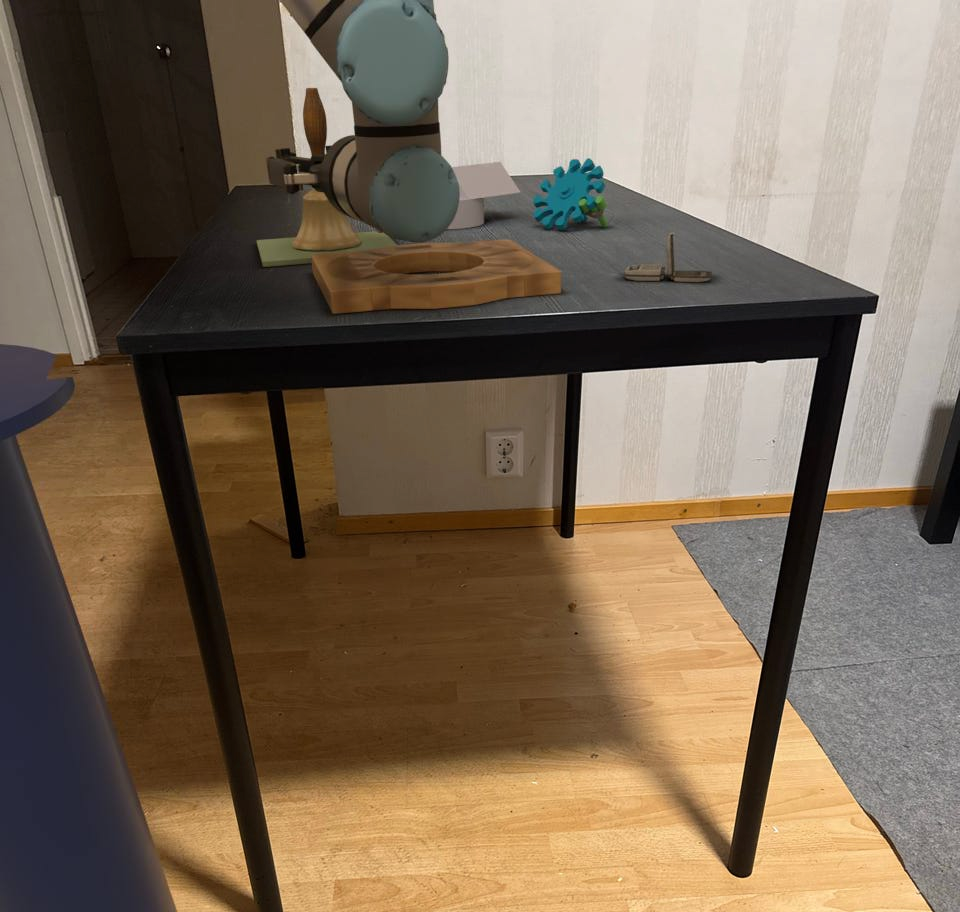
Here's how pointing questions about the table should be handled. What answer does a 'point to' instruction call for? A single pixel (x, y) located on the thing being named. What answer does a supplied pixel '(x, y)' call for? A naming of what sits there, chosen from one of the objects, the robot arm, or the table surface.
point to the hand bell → (319, 216)
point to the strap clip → (657, 271)
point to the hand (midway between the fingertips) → (305, 160)
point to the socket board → (431, 276)
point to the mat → (286, 254)
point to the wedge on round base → (479, 191)
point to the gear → (572, 196)
